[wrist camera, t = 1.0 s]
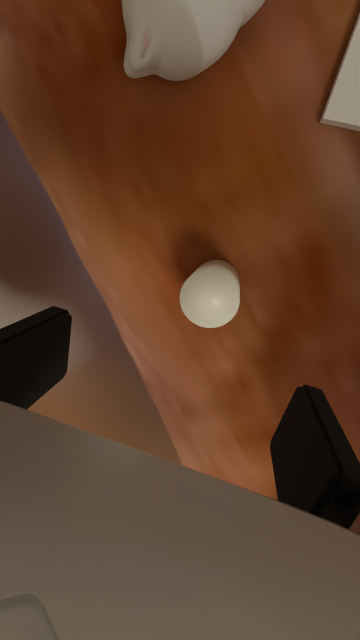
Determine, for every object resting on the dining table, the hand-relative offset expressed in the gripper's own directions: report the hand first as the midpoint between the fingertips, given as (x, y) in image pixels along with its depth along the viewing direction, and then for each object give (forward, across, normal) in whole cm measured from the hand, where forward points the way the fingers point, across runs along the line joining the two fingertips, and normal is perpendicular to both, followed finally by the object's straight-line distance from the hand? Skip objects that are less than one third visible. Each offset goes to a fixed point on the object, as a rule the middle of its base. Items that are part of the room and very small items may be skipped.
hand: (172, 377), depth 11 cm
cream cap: (+20, 0, 0) cm, 20 cm away
